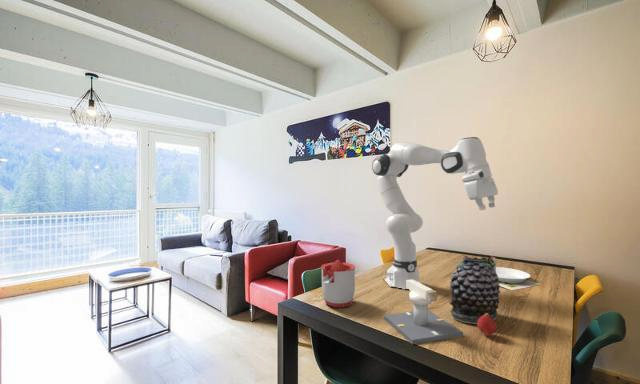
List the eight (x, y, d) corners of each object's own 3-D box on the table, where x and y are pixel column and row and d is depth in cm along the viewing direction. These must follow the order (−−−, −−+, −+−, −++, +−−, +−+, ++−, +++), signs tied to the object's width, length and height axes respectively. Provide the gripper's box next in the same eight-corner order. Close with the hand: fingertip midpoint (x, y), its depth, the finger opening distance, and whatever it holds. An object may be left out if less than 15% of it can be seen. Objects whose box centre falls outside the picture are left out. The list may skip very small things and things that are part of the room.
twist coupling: (400, 294, 113) (400, 280, 113) (418, 293, 115) (418, 278, 115) (423, 309, 99) (422, 293, 99) (443, 307, 101) (442, 290, 101)
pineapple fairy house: (478, 307, 125) (477, 249, 125) (511, 321, 111) (510, 256, 111) (440, 314, 118) (439, 253, 118) (470, 331, 104) (469, 261, 104)
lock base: (383, 319, 114) (383, 295, 114) (427, 313, 119) (427, 290, 119) (412, 344, 95) (411, 315, 95) (463, 336, 100) (462, 308, 100)
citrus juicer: (311, 305, 129) (311, 261, 129) (335, 294, 142) (334, 254, 142) (340, 314, 119) (339, 266, 119) (362, 302, 132) (361, 258, 132)
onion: (473, 332, 103) (473, 309, 103) (489, 331, 103) (488, 309, 103) (484, 340, 97) (484, 316, 97) (500, 339, 97) (500, 316, 97)
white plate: (472, 278, 167) (472, 272, 167) (487, 270, 184) (486, 264, 184) (524, 288, 148) (524, 281, 148) (535, 278, 165) (534, 272, 165)
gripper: (481, 176, 125) (489, 207, 124) (459, 178, 113) (468, 213, 111) (496, 172, 121) (505, 204, 119) (475, 174, 108) (485, 210, 106)
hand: (487, 208), depth 115 cm, fingers open, 8 cm apart
